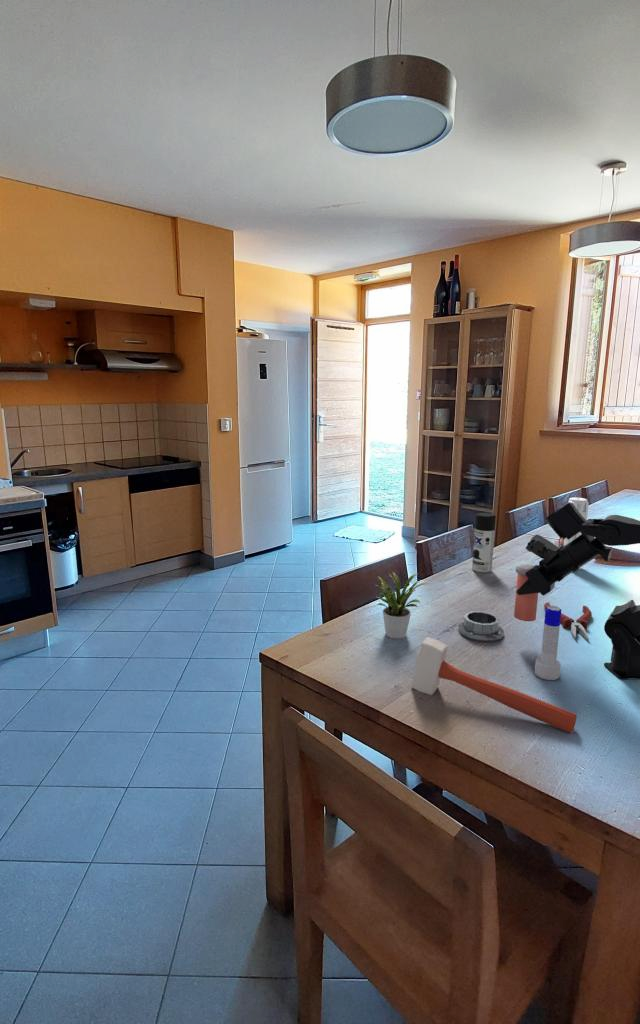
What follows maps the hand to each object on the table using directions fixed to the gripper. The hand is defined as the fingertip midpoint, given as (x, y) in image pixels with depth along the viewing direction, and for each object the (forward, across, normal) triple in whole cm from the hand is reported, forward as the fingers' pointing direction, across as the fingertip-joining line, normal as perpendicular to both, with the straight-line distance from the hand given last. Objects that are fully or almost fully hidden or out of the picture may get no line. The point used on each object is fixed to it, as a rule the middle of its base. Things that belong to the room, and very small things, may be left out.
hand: (521, 590), depth 129 cm
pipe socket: (+16, 0, +3) cm, 16 cm away
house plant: (+27, +14, -8) cm, 32 cm away
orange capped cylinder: (+4, 0, +6) cm, 7 cm away
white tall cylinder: (+13, -72, +7) cm, 73 cm away
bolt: (+2, +12, +17) cm, 21 cm away
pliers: (+6, -20, +15) cm, 26 cm away
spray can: (+30, -49, -10) cm, 58 cm away
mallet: (+7, +32, +13) cm, 35 cm away
